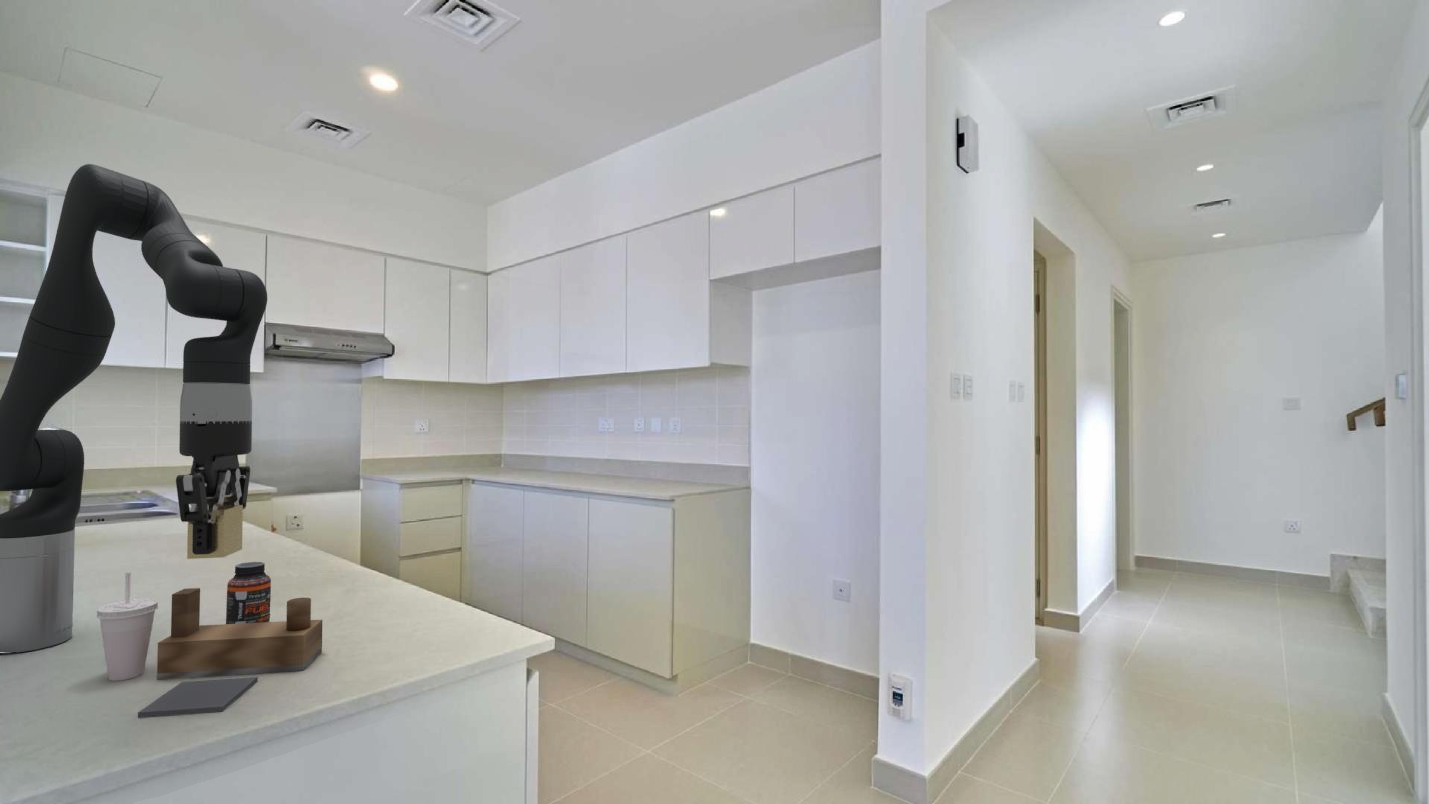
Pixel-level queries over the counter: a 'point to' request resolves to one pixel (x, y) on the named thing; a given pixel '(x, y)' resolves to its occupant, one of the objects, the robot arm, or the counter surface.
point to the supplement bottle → (248, 594)
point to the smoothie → (126, 634)
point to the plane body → (236, 642)
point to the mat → (199, 697)
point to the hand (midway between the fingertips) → (215, 548)
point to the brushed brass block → (222, 533)
